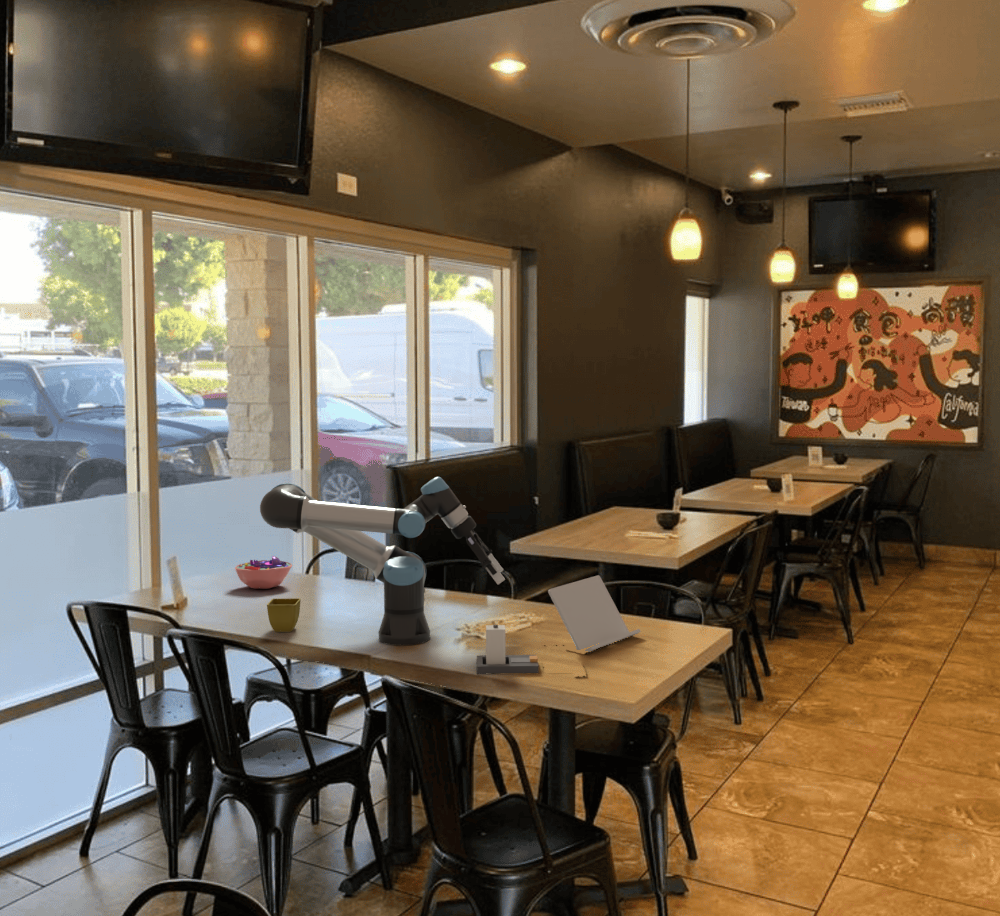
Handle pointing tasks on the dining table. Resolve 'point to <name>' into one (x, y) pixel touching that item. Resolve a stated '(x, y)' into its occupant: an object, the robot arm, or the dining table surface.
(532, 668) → the grey slotted tray
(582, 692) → the dining table surface
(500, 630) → the block
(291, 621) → the flower pot
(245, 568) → the cell model
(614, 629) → the tablet stand
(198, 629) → the dining table surface
